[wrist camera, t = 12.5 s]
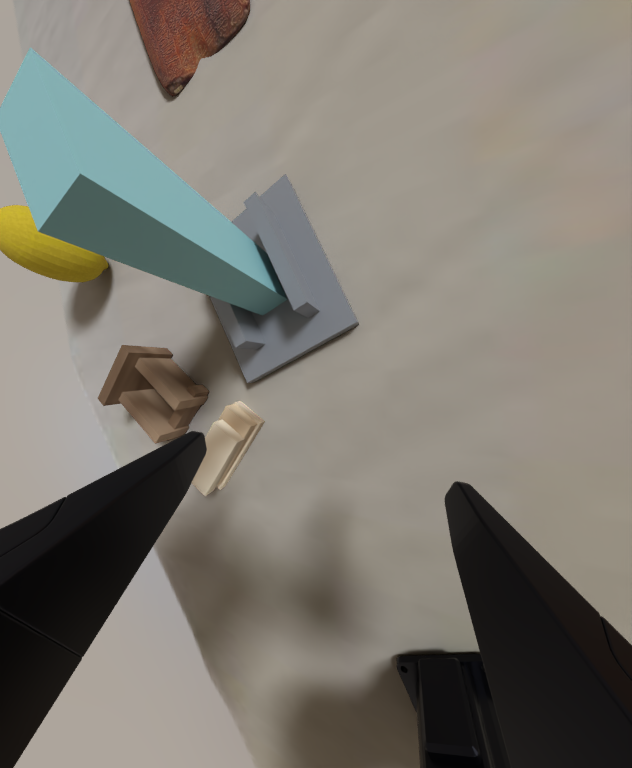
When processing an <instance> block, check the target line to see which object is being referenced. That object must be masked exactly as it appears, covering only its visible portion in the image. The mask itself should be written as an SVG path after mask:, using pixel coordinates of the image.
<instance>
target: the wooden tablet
mask: <svg viewBox="0 0 632 768" xmlns="http://www.w3.org/2000/svg"><path fill="white" fill-rule="evenodd" d="M130 3H131V6H132V9H133V12H134V15H135V19H136V21H137V24H138V26H139V29H140V32H141V35H142V37H143V41H144V43H145V47H146V49H147V52H148V55H149V58H150V60H151V63H152V65H153V68H154V71H155V73H156V75H157V77H158V79H159V81H160V82H161V84H162V86H163V87H164V88H165V90H166V91H167V92H168V93H169V94H170V95H172V96H175V95H177V94H179V93H180V92H181V90H182V89H183V88H184V87H185V86H186V84H187V83H188V82H189V81H190V79H191V78H192V77H193V75H194V73H195V71H196V69H197V66H198V63H199V61H200V59H201V58H205V57H209V56H212V55H213V54H215V53H217V52H218V51H219V50H221V49H222V48H223V47H224V46H225V45H226V44H227V43H228V42H229V41H230V40H231V39H232V38H233V37H234V36H235V35H236V34H237V32H238V31H239V30H240V29H241V27H242V25H243V24H244V23H245V22H246V20H247V18H248V15H249V11H250V0H130Z"/></svg>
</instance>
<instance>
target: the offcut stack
mask: <svg viewBox="0 0 632 768" xmlns="http://www.w3.org/2000/svg"><path fill="white" fill-rule="evenodd" d="M264 422H265V421H264V420H263V419H261V418H260V417H259V416H258V415H257V414H255V413H254V412H253V411H252V410H251V409H249V408H248V407H247V406H246V405H245V404H244V403H242V402H241V401H238V402H235V403H234V404H232V405H228V406H226V407H225V409H224V411H223V413H222V414H221V416H220V418H219V420H218V421H216V422H213V424H212V426H211V428H210V430H209V432H208V433H207V435H206V437H205V442H206V447H207V452H206V455H205V457H204V459H203V461H202V463H201V465H200V467H199V469H198V471H197V473H196V475H195V477H194V479H193V481H192V484H193V485H194V486H195V487H196V488H197V489H198V490H199V491H200V492H201V493H202V494H203V495H204V496H207V495H208V494H209V493H211V492H212V491H214V490H215V488H216V487H217V488H218V489H219V490H221V489H222V488H224V487H225V486H226V484H227V483H228V481H229V480H230V478H231V476H232V475H233V473H234V471H235V470H236V468H237V466H238V465H239V463H240V462H241V460H242V458H243V457H244V455H245V453H246V452H247V450H248V448H249V447H250V445H251V444H252V442H253V440H254V439H255V437H256V435H257V434H258V432H259V430H260V429H261V427H262V426H263V424H264Z"/></svg>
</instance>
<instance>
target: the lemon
mask: <svg viewBox="0 0 632 768" xmlns="http://www.w3.org/2000/svg"><path fill="white" fill-rule="evenodd" d="M0 250H1V251H2V252H3V253H4V254H5V255H6V256H7V257H8V258H10V259H11V260H12V261H14V262H16V263H17V264H19V265H21V266H22V267H24V268H26V269H29V270H31V271H33V272H35V273H38V274H40V275H43V276H46V277H49V278H52V279H56V280H61V281H68V282H86V281H90V280H93V279H95V278H97V277H98V276H99V275H100V274H101V273H102V271H103V270H105V269H107V268H108V263H107V261H106V260H105V257H104V256H102V255H99V254H97V253H94V252H91V251H89V250H86V249H83V248H81V247H78V246H75V245H73V244H70V243H67V242H65V241H62V240H59V239H57V238H54V237H51V236H48V235H46V234H43V233H40V232H38V230H37V228H36V225H35V222H34V220H33V217H32V214H31V212H30V209H29V207H27V206H19V205H12V206H6V207H3V208H0Z"/></svg>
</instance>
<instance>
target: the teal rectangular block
mask: <svg viewBox="0 0 632 768" xmlns="http://www.w3.org/2000/svg"><path fill="white" fill-rule="evenodd" d="M0 132H1V134H2V137H3V139H4V142H5V145H6V147H7V150H8V153H9V156H10V158H11V161H12V164H13V166H14V169H15V172H16V174H17V177H18V180H19V182H20V185H21V188H22V190H23V193H24V195H25V198H26V201H27V204H28V206H29V209H30V212H31V214H32V217H33V220H34V222H35V225H36V228H37V230H38V232H40V233H43V234H46V235H48V236H51V237H54V238H57V239H59V240H62V241H65V242H67V243H70V244H73V245H75V246H78V247H81V248H83V249H86V250H89V251H91V252H94V253H97V254H99V255H102V256H105V257H107V258H110V259H113V260H115V261H118V262H121V263H123V264H126V265H129V266H131V267H134V268H137V269H139V270H142V271H145V272H147V273H150V274H153V275H155V276H158V277H161V278H163V279H166V280H169V281H171V282H174V283H177V284H179V285H182V286H185V287H187V288H190V289H193V290H196V291H198V292H201V293H204V294H206V295H209V296H212V297H214V298H217V299H220V300H222V301H225V302H228V303H230V304H233V305H236V306H238V307H241V308H244V309H246V310H249V311H252V312H254V313H257V314H260V315H262V316H263V315H264V314H266V313H268V312H269V311H271V310H272V309H274V308H275V307H277V306H278V305H280V304H281V303H283V302H285V301H286V300H288V299H287V297H286V295H285V293H284V290H283V288H282V286H281V284H280V282H279V279H278V277H277V275H276V273H275V270H274V268H273V266H272V264H271V262H270V259H269V257H268V255H267V253H266V252H265V251H264V250H263V249H261V248H260V247H259V246H258V245H257V244H256V243H255V242H253V241H252V240H251V239H250V238H249V237H248V236H247V235H245V234H244V233H243V232H242V231H241V230H240V229H239V228H237V227H236V226H235V225H234V224H233V223H232V222H230V221H229V220H228V219H227V218H226V217H225V216H224V215H222V214H221V213H220V212H219V211H218V210H217V209H216V208H214V207H213V206H212V205H211V204H210V203H209V202H207V201H206V200H205V199H204V198H203V197H202V196H201V195H199V194H198V193H197V192H196V191H195V190H194V189H193V188H191V187H190V186H189V185H188V184H187V183H186V182H184V181H183V180H182V179H181V178H180V177H179V176H178V175H176V174H175V173H174V172H173V171H172V170H171V169H170V168H168V167H167V166H166V165H165V164H164V163H163V162H161V161H160V160H159V159H158V158H157V157H156V156H155V155H153V154H152V153H151V152H150V151H149V150H148V149H147V148H145V147H144V146H143V145H142V144H141V143H140V142H139V141H137V140H136V139H135V138H134V137H133V136H132V135H130V134H129V133H128V132H127V131H126V130H125V129H124V128H122V127H121V126H120V125H119V124H118V123H117V122H116V121H114V120H113V119H112V118H111V117H110V116H109V115H107V114H106V113H105V112H104V111H103V110H102V109H101V108H99V107H98V106H97V105H96V104H95V103H94V102H93V101H91V100H90V99H89V98H88V97H87V96H86V95H84V94H83V93H82V92H81V91H80V90H79V89H78V88H76V87H75V86H74V85H73V84H72V83H71V82H70V81H68V80H67V79H66V78H65V77H64V76H63V75H61V74H60V73H59V72H58V71H57V70H56V69H55V68H53V67H52V66H51V65H50V64H49V63H48V62H47V61H45V60H44V59H43V58H42V57H41V56H40V55H39V54H37V53H36V52H35V51H34V50H33V49H32V48H30V49H29V51H28V53H27V55H26V57H25V59H24V61H23V63H22V65H21V67H20V69H19V71H18V73H17V75H16V77H15V79H14V81H13V83H12V85H11V87H10V89H9V91H8V93H7V95H6V97H5V99H4V101H3V103H2V105H1V107H0Z"/></svg>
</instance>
